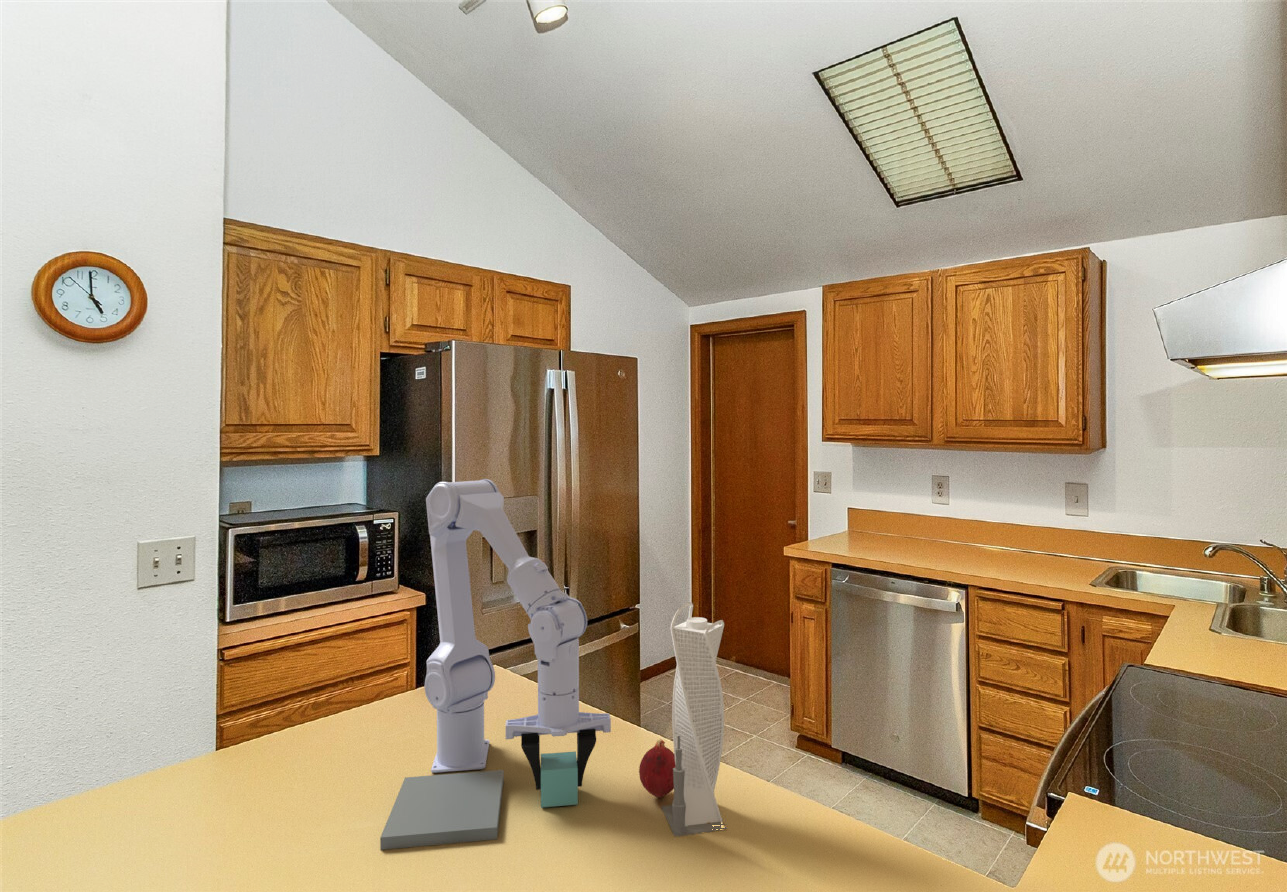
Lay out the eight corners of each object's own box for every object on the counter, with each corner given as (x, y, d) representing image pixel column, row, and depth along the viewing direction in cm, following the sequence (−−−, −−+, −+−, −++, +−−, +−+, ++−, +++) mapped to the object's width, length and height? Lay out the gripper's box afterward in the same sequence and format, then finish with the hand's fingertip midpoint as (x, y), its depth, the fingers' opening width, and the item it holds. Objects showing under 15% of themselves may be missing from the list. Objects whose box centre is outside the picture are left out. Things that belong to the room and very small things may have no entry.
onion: (677, 810, 91) (676, 751, 91) (635, 806, 92) (635, 748, 92) (683, 788, 96) (682, 733, 96) (643, 785, 98) (643, 730, 98)
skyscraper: (659, 803, 93) (658, 602, 93) (714, 797, 95) (714, 599, 95) (674, 838, 85) (673, 617, 85) (735, 830, 87) (734, 614, 86)
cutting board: (405, 787, 97) (405, 777, 97) (503, 779, 99) (503, 769, 99) (380, 849, 82) (380, 837, 82) (496, 838, 84) (496, 827, 84)
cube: (541, 788, 96) (540, 753, 96) (575, 785, 97) (575, 751, 97) (540, 807, 91) (540, 770, 91) (577, 804, 92) (577, 767, 92)
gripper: (504, 701, 89) (504, 804, 89) (612, 695, 91) (613, 795, 91) (506, 683, 96) (507, 777, 96) (607, 677, 98) (608, 770, 98)
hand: (558, 784), depth 94 cm, fingers closed on cube, 5 cm apart
